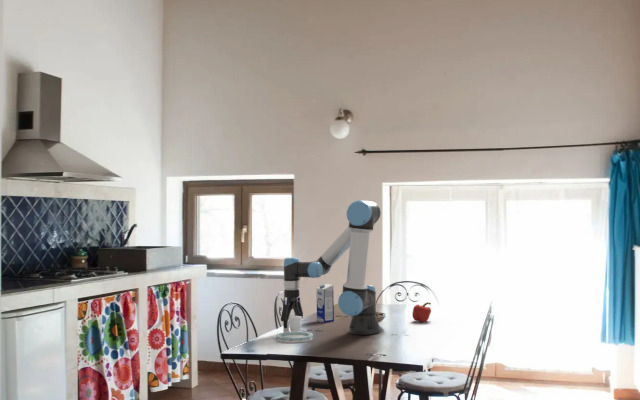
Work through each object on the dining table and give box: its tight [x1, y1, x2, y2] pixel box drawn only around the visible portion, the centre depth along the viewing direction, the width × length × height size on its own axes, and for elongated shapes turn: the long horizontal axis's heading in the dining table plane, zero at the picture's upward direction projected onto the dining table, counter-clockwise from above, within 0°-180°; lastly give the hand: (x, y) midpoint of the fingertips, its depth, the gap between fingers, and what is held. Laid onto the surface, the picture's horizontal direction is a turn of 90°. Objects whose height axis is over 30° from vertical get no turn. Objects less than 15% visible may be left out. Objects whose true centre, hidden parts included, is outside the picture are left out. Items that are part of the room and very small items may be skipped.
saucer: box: [275, 331, 314, 344], centre depth 303 cm, size 17×17×2 cm
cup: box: [288, 315, 302, 332], centre depth 319 cm, size 7×10×8 cm
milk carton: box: [315, 283, 335, 324], centre depth 353 cm, size 7×7×20 cm
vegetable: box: [411, 302, 432, 323], centre depth 346 cm, size 11×10×10 cm
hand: (292, 332), depth 319 cm, fingers open, 13 cm apart
